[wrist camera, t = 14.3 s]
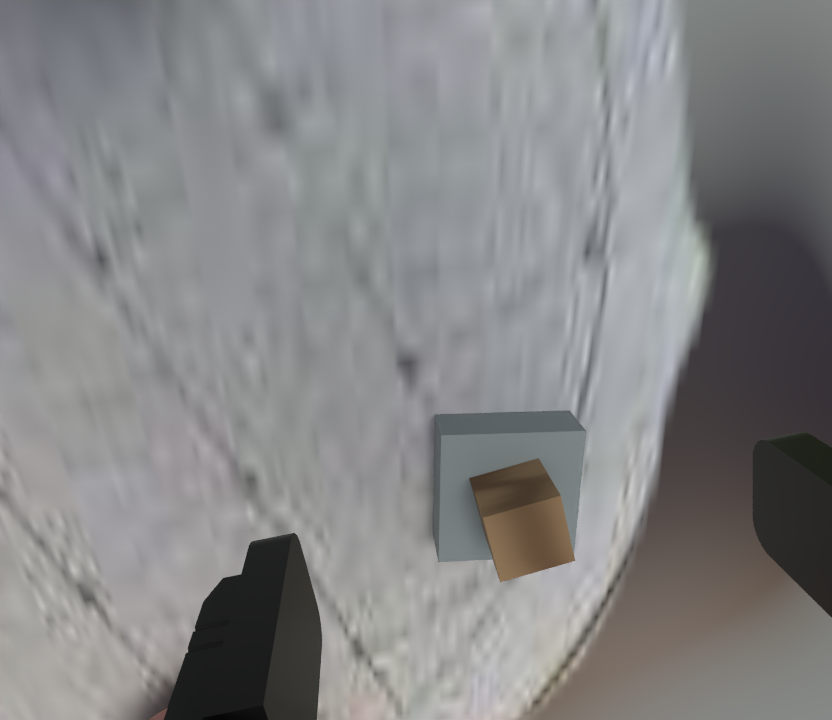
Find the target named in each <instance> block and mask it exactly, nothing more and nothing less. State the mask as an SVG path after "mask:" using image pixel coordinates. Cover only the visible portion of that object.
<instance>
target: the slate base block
mask: <svg viewBox="0 0 832 720" xmlns="http://www.w3.org/2000/svg"><path fill="white" fill-rule="evenodd" d="M585 434H586V430H585V429H584V428H583V427H582V426H581V424H580V423H579V422H578V421H577V419H576V418H575V417H574V416H573V414H572V413H571V412H570V411H543V412H508V413H474V414H440V415H435V447H434V506H433V536H434V541H435V546H436V551H437V556H438V561H439V562H448V561H468V560H489V559H493V558H492V555H491V552H490V549H489V546H488V543H487V540H486V537H485V534H484V530H483V527H482V523H481V519H480V516H479V512H478V508H477V505H476V501H475V497H474V494H473V490H472V486H471V483H470V479H469V478H471V477H475V476H478V475H482V474H485V473H489V472H492V471H496V470H499V469H503V468H506V467H510V466H513V465H517V464H520V463H524V462H527V461H531V460H534V459H538V458H539V460H540V461H541V463H542V465H543V466H544V468H545V470H546V471H547V473H548V475H549V477H550V478H551V480H552V482H553V483H554V485H555V487H556V488H557V490H558V492H559V493H560V495H561V499H562V504H563V508H564V513H565V517H566V522H567V526H568V531H569V535H570V540H571V544H572V549H573V553H574V547H575V537H576V527H577V516H578V506H579V496H580V486H581V475H582V465H583V455H584V445H585Z"/></svg>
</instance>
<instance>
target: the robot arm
mask: <svg viewBox="0 0 832 720" xmlns="http://www.w3.org/2000/svg"><path fill="white" fill-rule="evenodd" d="M753 523H754V527H755V531H756V534H757V537H758V539H759V541H760V543H761V545H762V547H763V548H764V550H765V551H766V553H767V554H768V555H769V556H770V557H771V558H772V559H773V560H774V561H775V562H776V563H777V564H778V565H779V566H780V567H781V568H782V569H783V570H784V571H785V572H786V573H787V574H788V575H789V576H790V577H791V578H792V579H793V580H794V581H795V582H796V583H798V585H799V586H800V587H801V588H802V589H803V590H804V591H805V592H806V593H808V595H809V596H810V597H812V599H813V600H815V601H816V602H817V603H818V604H819V605H820V606H821V607H822V608H823V609H824V610H825V611H826V612H827V613H828V614H829V615H830V616H831V617H832V448H831V447H830V446H828V445H827V444H825V443H823V442H822V441H820V440H819V439H817V438H816V437H814V436H812V435H811V434H809V433H806V432H799V433H795V434H790V435H785V436H780V437H775V438H770V439H765V440H760V441H758V442H757V443H756V445H755V447H754V451H753ZM321 650H322V632H321V622H320V616H319V611H318V606H317V602H316V599H315V595H314V591H313V588H312V584H311V581H310V577H309V573H308V570H307V566H306V562H305V559H304V555H303V552H302V548H301V544H300V541H299V539H298V537H297V535H296V534H295V533H292V534H287V535H282V536H277V537H272V538H267V539H262V540H257V541H252V542H251V543H250V545H249V548H248V552H247V555H246V559H245V563H244V567H243V570H242V574H241V575H236V576H231V577H226V578H223V579H222V580H221V581H220V582H219V584H218V585H217V586H216V587H215V588H214V590H213V591H212V592H211V593H210V595H209V596H208V597H207V598H206V599H205V601H204V602H203V605H202V608H201V611H200V613H199V616H198V619H197V622H196V625H195V632H193V634H192V637H191V640H190V643H189V646H188V653H186V655H185V658H184V661H183V664H182V667H181V670H180V673H179V676H178V679H177V682H176V685H175V688H174V691H173V693H172V696H171V699H170V702H169V705H168V708H167V711H166V714H165V717H164V720H317V707H318V693H319V679H320V665H321Z"/></svg>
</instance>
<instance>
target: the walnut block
mask: <svg viewBox="0 0 832 720" xmlns="http://www.w3.org/2000/svg"><path fill="white" fill-rule="evenodd" d="M469 479H470V483H471V486H472V490H473V494H474V497H475V501H476V505H477V508H478V512H479V516H480V519H481V523H482V527H483V530H484V534H485V537H486V540H487V543H488V546H489V549H490V552H491V555H492V558H493V561H494V564H495V567H496V570H497V573H498V576H499V579H500V582H503V581H506V580H510V579H513V578H517V577H520V576H524V575H527V574H531V573H534V572H538V571H541V570H545V569H548V568H551V567H555V566H558V565H562V564H565V563H569V562H572V561H575V558H574V553H573V549H572V544H571V540H570V535H569V531H568V526H567V522H566V517H565V513H564V508H563V504H562V499H561V495H560V493H559V492H558V490H557V488H556V487H555V485H554V483H553V482H552V480H551V478H550V477H549V475H548V473H547V471H546V470H545V468H544V466H543V465H542V463H541V461H540V460H539V458H538V459H534V460H531V461H527V462H524V463H520V464H517V465H513V466H510V467H506V468H503V469H499V470H496V471H492V472H489V473H485V474H482V475H478V476H475V477H471V478H469Z"/></svg>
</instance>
